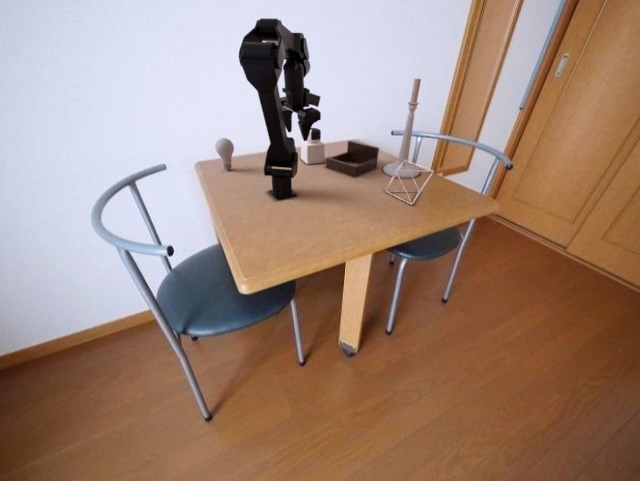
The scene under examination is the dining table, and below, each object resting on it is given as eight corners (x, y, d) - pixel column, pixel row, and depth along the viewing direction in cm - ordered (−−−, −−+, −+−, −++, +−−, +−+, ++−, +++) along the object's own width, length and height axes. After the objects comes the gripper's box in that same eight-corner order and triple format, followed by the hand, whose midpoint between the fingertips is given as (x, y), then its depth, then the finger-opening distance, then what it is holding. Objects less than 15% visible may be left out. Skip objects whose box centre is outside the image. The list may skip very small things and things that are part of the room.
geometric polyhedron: (380, 198, 85) (384, 168, 80) (390, 185, 93) (394, 157, 88) (422, 207, 80) (430, 177, 75) (429, 193, 89) (436, 164, 83)
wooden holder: (354, 177, 99) (356, 155, 95) (326, 167, 106) (326, 147, 102) (376, 167, 107) (379, 147, 103) (348, 159, 114) (349, 140, 110)
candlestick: (426, 175, 102) (449, 78, 85) (397, 180, 97) (416, 79, 80) (403, 164, 111) (419, 75, 95) (376, 168, 107) (388, 75, 90)
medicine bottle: (317, 157, 116) (317, 126, 110) (324, 162, 111) (325, 130, 104) (300, 159, 114) (300, 127, 107) (307, 164, 108) (307, 131, 102)
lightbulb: (238, 171, 101) (233, 139, 94) (220, 173, 99) (214, 141, 93) (235, 166, 105) (231, 135, 99) (218, 168, 103) (212, 136, 97)
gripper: (335, 86, 83) (333, 139, 93) (298, 74, 94) (301, 122, 104) (304, 93, 78) (306, 148, 88) (269, 80, 89) (274, 130, 99)
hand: (297, 136), depth 95 cm, fingers open, 9 cm apart
